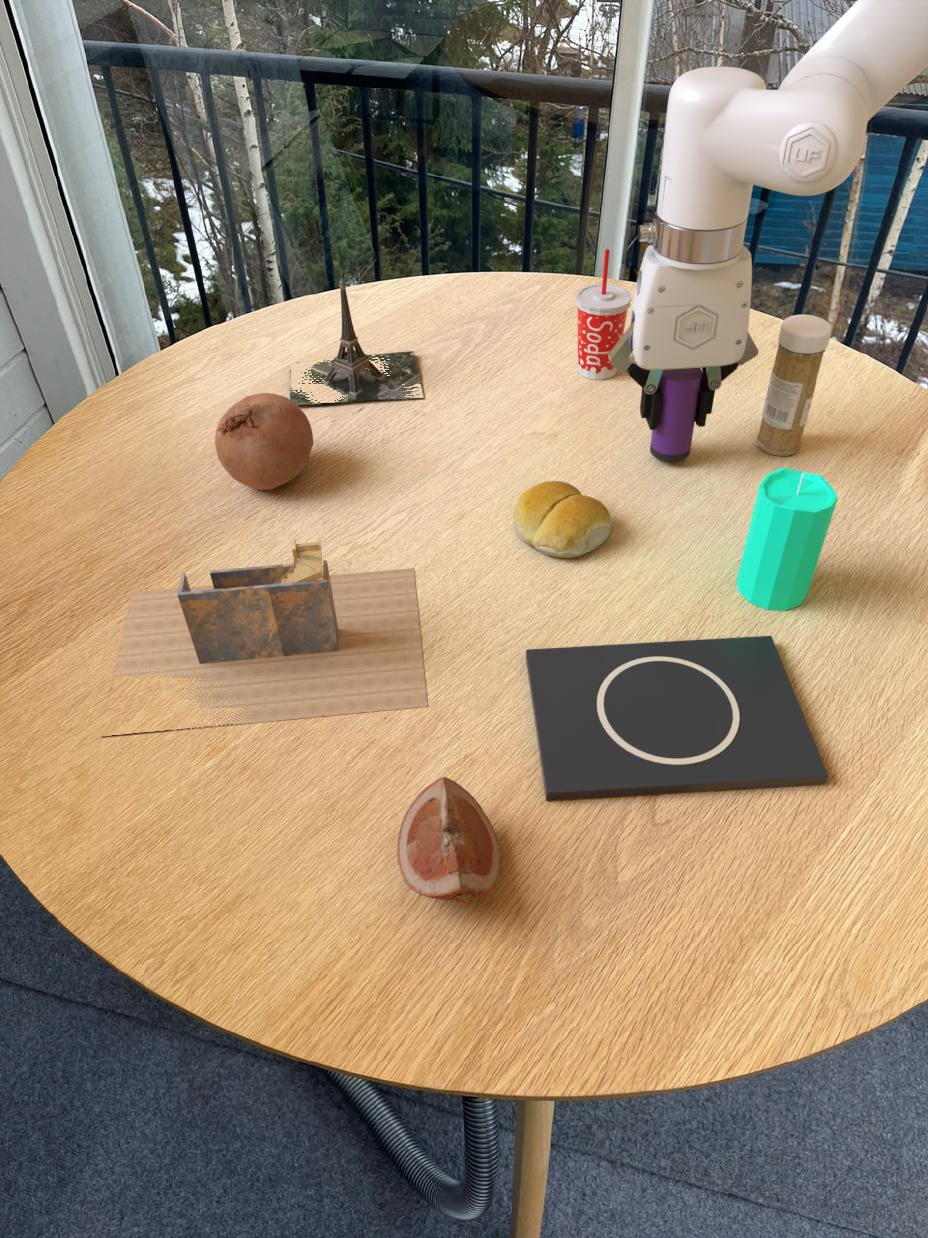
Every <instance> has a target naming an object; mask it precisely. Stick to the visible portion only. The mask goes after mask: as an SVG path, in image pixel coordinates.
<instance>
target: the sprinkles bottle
mask: <svg viewBox="0 0 928 1238" xmlns="http://www.w3.org/2000/svg"><path fill="white" fill-rule="evenodd" d="M831 334H832V326H831V324H830V323H829V322H828V321H827V320H826V319H824V318H822V317H819V316H816V315H812V314H795V315H794V314H793V315H790V316H788V317H786V318H785V319H783V320H782V322H781V325H780V329H779V333H778V337H777V341H778V342H777V344H778V346H777V347H778V348H777V351H776V355H775V359H774V362H773V367H772V370H771V373H770V378H769V383H768V387H767V390H766V395H765V400H764V404H763V408H762V414H761V415H762V416H761V421H760V426H759V430H758V433H757V435H756V438H755V442H756V443H755V444H756V445H757V447H758V448H759V449H760V450H761V451H763V452H765V453H767V454H768V455H769V454H770V455H772V456H777V457H786V456H791V455H794V454H796V453H797V452H798V451H799V450H800V449H801V446H802V438H803V434H804V430H805V426H806V424H807V421H808V419H809V418H808V417H809V413H810V410H811V406H812V403H813V398H814V393H815V389H816V385H817V380H818V376H819V372H820V369H821V365H822V362H823V356H824V353H825V352H826V349H827V348H828V346H829V343H830V340H831Z"/></svg>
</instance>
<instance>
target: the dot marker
mask: <svg viewBox="0 0 928 1238" xmlns="http://www.w3.org/2000/svg"><path fill="white" fill-rule="evenodd" d="M701 377H702V368H688V369H672V370H663V372H662V375H661V379H660V382H659V390H660V392H661V396H662V398H661V406H660V414H659V423H658V428H656V430H651V437H650V447H649V450H650V454H651V456H652V457H654V458H655V459H658V460H660V461H662V462H666V463H677V462H681V461H682V462H683V461H684V460H686V459H687V458H688V457H689V456H690V455H691V449H692V441H693V435H694V430H695V424H696V422H695V417H696V410H697V403H698V397H699V390H700V384H701Z"/></svg>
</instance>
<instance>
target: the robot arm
mask: <svg viewBox="0 0 928 1238" xmlns="http://www.w3.org/2000/svg"><path fill="white" fill-rule="evenodd" d="M927 68H928V0H856V1H855V3H853V4H852V6H851V7H849V9H848V10H846V11H845V12H844V14H843V15H842V16H841V17H840V18H838V20H837V21H836V22H835V23H834V24H833V25H832V26H831V27H830V28H829V29H828V30H827V31H826V32H825V33H824V34H823V35H822V37H820V39H818V40H817V42H815V44H813V46H812V47H811V48H810V49H809V50H808V51H807V52H806V53H805V54H804V55H803V56H802V57H801V58H800V59H799V60H798V61H797V63H796V64H795V65H794V66H793V68H791V70H790V71H789V72H788V73H787V75H786V76H785V77H784V79H783V81H782V82H781V84H780V85H779V87H778V89H768V88H767V85H766V82H765V81H764V79H763V78H762V77H761V76H760V75H759V74H757V73H756V72H753V71H751V70H749V69H745V68H741V67H734V66H705V67H698V68H695V69H691V70H688V71H686V72H684V73H683V74H681V75H680V76H679V77H677V78H676V80H674V82H673V84H672V86H671V87H670V90H669V94H668V100H667V106H666V116H665V117H666V118H665V128H664V135H663V136H664V138H663V148H662V156H661V157H662V159H661V168H660V176H659V178H660V179H659V187H658V197H657V207H656V211H654V215H653V218H652V221H651V222H648V223H647V224H640V225H638V228H637V240H638V242H639V243H642V242H643V243H644V242H646V243H647V244H650V245H648V246H647V247H646V249H645V252H644V255H643V258H642V261H641V264H640V268H639V270H638V271H639V272H638V276H637V280H636V284H635V288H634V294H633V297H632V305H631V311H630V316H629V324H628V328H627V329H626V331H624V334H623V336H622V337H621V338H620V340H619V341H618V342H617V344H616V345H615V346H614V348H613V349H612V350H611V352H610V353H609V355H608V357H609V360H610V363H611V365H612V366H613V367H615V368H617V369H618V370H619V371H620V372H622V373H625V374H626V375H629V378H631V379H632V380H633V381H634V382H635V383H636V384H638V385H639V386H640V387H641V395H640V405H639V413H640V414H639V415H640V417H641V419H645V420H646V423H647V426H648V429H649V431H652V430H656V428H658V423H659V414H660V406H661V398H662V396H661V392H660V390H659V382H660V379H661V375H662V372H663V370H672V369H688V368H700V369H701V371H702V377H701V384H700V390H699V397H698V403H697V410H696V417H695V425H696V426H697V427H699V428H703V427H705V426H706V423H707V415H711V414H712V411H713V405H714V400H715V394H716V391H717V390H718V389H720V388H721V386H722V382H723V381H725V380H726V379H727V378H728V377H730V376H731V374H733V373H734V372H735V371H736V370H738V368H739V366H743V365H744V364H746V363H747V362H749V361H751V360H752V359H754V358H756V357H757V356H758V355H759V349H758V347H757V345H756V344H755V342H754V340H753V338H752V336H751V334H750V332H749V323H750V315H751V302H752V286H753V285H752V283H753V261H752V253H751V252H750V250H749V249H748V248H747V247H746V245H744V242H745V241H744V240H745V235H746V229H747V224H748V218H749V212H750V207H751V199H752V193H753V188H754V186H756V187H761V188H762V189H763V188H764V189H768V190H771V191H775V192H779V193H781V194H785V195H791V196H799V197H812V196H818V195H821V194H825V193H827V192H829V191H830V192H831V191H832V190H833V189H835V188H836V187H838V186H840V185H841V184H843V183H844V182H845V181H846V180H847V178H849V177H850V175H852V173H853V172H854V170H855V169H856V167H857V165H858V163H859V161H860V159H861V158H862V157H861V156H862V154H863V151H864V147H865V141H866V135H867V128H868V122H869V121H870V120H871V119H872V118H873V117H874V116H875V115H876V114H877V113H878V112H879V111H880V110H881V109H883V107H884V106H886V105H887V104H888V103H889V102H890V101H892V99H893V98H894V97H895V96H896V95H898V93H900V92H901V91H902V90H903V89H904V88H905V87H906V86H908V84H910V82H912V81H913V80H914V79H915V78H916V77H917V76H919V75H920V74H921V73H922V72H923V71H924V70H925V69H927ZM631 354H633V356H632V357H631Z"/></svg>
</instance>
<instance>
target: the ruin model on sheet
mask: <svg viewBox="0 0 928 1238" xmlns="http://www.w3.org/2000/svg"><path fill="white" fill-rule="evenodd" d="M291 551H292V557H293V562H292V563H283V564H273V565H271V564H270V565H260V566H249V567H236V568H225V569H209V576H210V579H211V582H212V583H211V584H212V585H204V586H190V583H189V581H188V577H187V574H186V572H185V571H183V572H180V578H179V583H178V588H171V589H157V590H144V591H135V592H131V596H130V600H129V605H128V608H127V613H126V619H125V623H124V627H123V631H122V632H123V633H122V636H121V641H120V646H119V650H120V652H119V651H118V654H119V655H118V654H117V659H116V664H115V668H114V673H113V678H115V677H116V679H117V678H118V677H119V678H121V676H122V678H124V677H123V674H124V676H125V677H126V678H127V675H128V677H129V678H131V676H132V678H135V677H136V679H137V678H138V677H139V678H141V677H140V675H141V676H142V677H143V678H144V675H145V677H146V678H148V676H149V673H150V674H151V675H152V677H153V673H154V675H155V676H156V677H157V674H158V675H159V672H160V673H161V674H162V676H163V677H164V678H166V676H167V677H168V678H170V676H171V678H172V679H173V678H176V679H177V678H178V677H179V678H182V677H183V678H184V679H185V678H188V679H189V680H190V678H192V679H193V680H194V678H196V679H197V680H198V681H199V682H200V683H201V684H202V685H200V683H197V680H194V681H195V682H196V683H197V684H198V685H199V686H200V687H198V685H195V683H192V680H190V681H191V683H192V684H193V685H195V686H196V687H197V688H198V689H196V687H193V685H190V683H188V684H189V685H190V686H191V687H193V688H194V689H195V690H196V691H194V689H191V687H188V685H186V683H185V685H186V686H187V687H188V688H190V689H191V690H192V691H193V692H194V693H195V694H196V695H197V697H195V694H192V691H189V689H187V688H186V687H185V688H186V689H187V690H188V691H189V692H190V693H191V694H192V695H193V696H194V697H195V698H196V699H198V697H199V698H201V699H202V700H203V701H201V699H198V700H199V701H200V702H201V704H200V705H201V706H202V707H200V706H198V707H199V708H200V709H201V708H205V709H206V708H207V707H208V708H209V709H210V708H214V709H215V708H218V709H219V710H220V707H221V708H225V707H226V708H227V709H228V708H232V709H233V710H234V708H237V709H238V708H242V709H243V710H242V709H238V710H240V711H241V713H240V711H236V710H235V711H236V712H238V713H240V714H237V713H235V712H233V713H235V714H236V715H238V716H237V717H236V715H233V713H230V712H229V711H227V712H228V713H230V714H232V715H233V716H235V717H236V718H234V717H231V715H228V714H227V713H226V712H224V710H225V711H226V709H224V710H221V711H222V712H224V713H225V714H227V715H228V716H230V717H231V718H233V719H235V720H236V721H238V722H240V723H238V722H236V721H235V720H232V719H230V720H232V721H233V722H235V723H237V725H246V724H256V723H267V722H277V721H287V720H288V721H289V720H298V719H307V718H308V719H309V718H318V717H319V718H320V717H330V716H341V715H348V714H350V715H351V714H361V713H372V712H382V711H383V712H384V711H391V710H392V711H393V710H404V709H412V708H413V709H414V708H415V709H416V708H422V707H423V708H425V707H428V697H427V696H428V695H427V687H426V678H425V677H426V676H425V668H424V657H423V647H422V646H423V645H422V637H421V628H420V627H421V626H420V617H419V607H418V599H417V598H418V597H417V588H416V578H415V569H414V567H411V568H399V569H398V568H397V569H389V570H388V569H387V570H377V571H365V572H364V571H363V572H354V573H353V572H352V573H341V574H330V569H329V564H328V559H323V557H322V555H323V554H322V544H321V537H320V536H318V541H317V542H305V543H297V539H296V538H294V548H291ZM125 649H126V650H125ZM128 649H129V650H128ZM138 649H139V650H138ZM148 649H149V651H148ZM132 650H133V651H132ZM142 650H143V651H142ZM145 650H146V651H145ZM152 650H153V651H152ZM136 651H137V652H136ZM150 652H151V654H150ZM164 652H165V653H164ZM147 653H148V654H147ZM154 653H155V654H154ZM121 654H122V655H121ZM158 654H159V655H158ZM128 655H129V656H128ZM148 655H149V657H148ZM152 656H153V657H152ZM150 658H151V659H150ZM121 666H122V668H121ZM155 666H156V667H155ZM125 667H126V669H125ZM128 667H129V668H130V669H128ZM138 667H139V668H138ZM159 667H160V668H161V669H159ZM163 667H164V669H163ZM119 668H120V670H119ZM132 668H133V669H132ZM142 668H143V669H142ZM149 668H150V669H151V670H149ZM153 668H154V670H153ZM167 668H168V669H167ZM123 669H124V671H123ZM136 669H137V670H136ZM157 669H158V670H159V671H157ZM130 670H131V672H130ZM140 670H141V671H140ZM161 670H162V671H163V672H164V673H163V672H161ZM165 670H166V671H167V672H165ZM121 671H122V673H123V674H122V673H121ZM127 671H128V672H127ZM134 671H135V672H134ZM148 671H149V672H148ZM151 671H152V672H153V673H151ZM155 671H156V673H157V674H155ZM177 671H178V672H177ZM118 672H119V673H120V675H121V676H119V673H118ZM138 672H139V673H138ZM125 673H126V674H125ZM132 673H133V674H134V675H132ZM142 673H143V674H142ZM146 673H147V675H146ZM129 674H130V675H129ZM136 674H137V675H138V676H136ZM164 674H165V675H166V676H164ZM168 674H169V675H168ZM172 674H173V675H172ZM184 675H185V676H184ZM159 676H160V678H162V676H161V675H159ZM149 677H150V678H151V676H149ZM113 678H112V679H113ZM153 678H155V677H153ZM157 678H158V677H157ZM199 678H200V679H201V680H199ZM204 679H205V680H204ZM208 679H209V680H208ZM170 681H171V680H170ZM174 681H175V680H174ZM178 681H179V680H178ZM182 681H183V680H182ZM186 681H187V682H188V680H186ZM202 681H203V682H204V683H202ZM207 682H208V683H207ZM211 682H212V683H211ZM216 682H217V683H216ZM226 683H227V684H226ZM205 684H206V685H205ZM209 684H210V685H209ZM236 684H237V685H236ZM214 685H216V686H214ZM219 685H220V686H219ZM175 686H176V685H175ZM183 686H184V685H183ZM203 686H204V687H203ZM207 686H208V687H207ZM212 687H213V688H212ZM217 687H218V688H217ZM173 688H174V687H173ZM181 688H182V687H181ZM201 688H202V689H201ZM178 689H179V688H178ZM215 689H216V690H215ZM171 690H172V689H171ZM175 690H176V689H175ZM179 690H180V689H179ZM183 690H184V689H183ZM199 690H200V691H199ZM207 690H208V691H209V692H208V691H207ZM212 690H213V691H214V692H213V691H212ZM225 690H226V691H225ZM176 691H177V690H176ZM184 691H185V690H184ZM204 691H205V692H204ZM231 691H232V692H231ZM173 692H174V691H173ZM177 692H178V691H177ZM181 692H182V693H183V691H181ZM185 692H186V693H187V691H185ZM197 692H198V693H199V694H197ZM210 692H211V693H212V694H211V693H210ZM174 693H175V692H174ZM190 693H187V694H188V695H189V696H190ZM202 693H203V694H202ZM171 694H172V695H173V693H171ZM175 694H176V695H177V693H175ZM179 694H180V695H181V693H179ZM183 694H184V695H185V693H183ZM208 694H209V695H210V696H209V695H208ZM221 694H222V695H221ZM200 695H201V696H200ZM205 695H206V696H205ZM185 696H186V695H185ZM193 696H190V697H191V698H192V699H193ZM202 696H203V697H204V698H205V699H203V697H202ZM174 697H175V696H174ZM178 697H179V696H178ZM182 697H183V696H182ZM186 697H187V698H188V696H186ZM207 697H208V698H209V699H207ZM183 698H184V697H183ZM191 698H188V699H189V700H191ZM212 698H214V699H212ZM217 698H218V699H217ZM180 699H181V700H182V698H180ZM184 699H185V700H186V698H184ZM196 699H194V700H195V701H196ZM206 700H207V701H206ZM210 700H212V701H210ZM215 700H216V701H215ZM220 700H221V701H222V702H220ZM199 701H196V702H197V703H198V704H199ZM208 701H209V702H210V703H208ZM226 701H227V702H228V703H226ZM188 702H189V701H188ZM192 702H193V701H192ZM204 702H206V703H204ZM213 702H214V703H213ZM218 702H219V703H220V704H218ZM232 702H233V703H232ZM236 702H237V703H236ZM193 703H194V702H193ZM202 703H203V704H204V705H202ZM224 703H225V704H226V705H225V704H224ZM186 704H187V703H186ZM190 704H191V703H190ZM207 704H208V705H207ZM211 704H213V705H211ZM216 704H217V705H216ZM229 704H231V705H229ZM191 705H192V704H191ZM195 705H197V704H195ZM222 705H223V706H222ZM188 706H190V705H188ZM205 706H206V707H205ZM209 706H211V707H209ZM214 706H215V707H214ZM219 706H220V707H219ZM227 706H229V707H227ZM233 706H234V707H233ZM237 706H238V707H237ZM194 707H195V706H194ZM187 708H188V707H187ZM191 708H192V707H191ZM256 708H257V709H256ZM210 710H212V711H213V709H210ZM203 711H204V710H203ZM207 711H208V709H207ZM207 711H204V712H206V713H207ZM216 711H218V710H216ZM216 711H213V712H215V713H216ZM230 711H232V710H230ZM245 711H246V712H245ZM201 712H202V711H201ZM209 712H210V713H211V711H209ZM219 713H221V712H219ZM219 713H216V714H218V715H219ZM243 713H245V714H243ZM249 713H250V714H249ZM194 714H195V713H194ZM199 714H200V713H199ZM203 714H204V715H206V716H207V714H209V713H207V714H205V713H203ZM212 714H213V715H214V713H212ZM221 714H222V713H221ZM225 714H222V715H224V716H225ZM187 715H188V714H187ZM241 715H243V716H241ZM247 715H248V716H247ZM197 716H198V715H197ZM201 716H203V715H202V714H201ZM210 716H212V715H210ZM215 716H216V717H217V715H215ZM219 716H220V715H219ZM239 716H240V717H241V718H239ZM244 716H245V717H246V718H245V717H244ZM190 717H191V716H190ZM221 717H222V718H223V716H221ZM225 717H226V716H225ZM200 718H201V717H200ZM204 718H206V717H204ZM209 718H210V717H209ZM213 718H214V719H215V717H213ZM217 718H218V717H217ZM227 718H228V719H229V717H227ZM237 718H238V719H240V720H241V721H243V722H241V721H240V720H237ZM242 718H243V719H245V720H243V719H242ZM219 719H221V718H219ZM224 719H225V720H227V719H226V718H224ZM198 720H199V719H198ZM203 720H204V719H203ZM207 720H208V719H207ZM211 720H213V719H211ZM216 720H217V719H216ZM230 720H227V721H228V722H230ZM213 721H214V720H213ZM217 721H219V720H217ZM222 721H224V720H222ZM201 722H202V721H201ZM206 722H207V721H206ZM210 722H211V721H210ZM214 722H216V721H214ZM224 722H225V721H224ZM228 722H225V723H227V724H229V725H228V726H235V725H236V724H235V723H233V722H230V723H228ZM244 722H245V723H244ZM194 723H195V722H194ZM211 723H212V722H211ZM216 723H217V722H216ZM221 723H222V722H221ZM225 723H222V724H224V725H225V726H227V725H226V724H225ZM231 723H232V724H233V725H231ZM187 724H188V723H187ZM191 724H192V723H191ZM204 724H205V723H204ZM213 724H215V723H213ZM218 724H219V725H220V723H218ZM197 725H198V724H197ZM201 725H203V724H201ZM201 725H198V726H200V727H201ZM206 725H207V724H206ZM206 725H203V726H204V727H205V728H207V727H206ZM210 725H212V724H210ZM215 725H216V724H215ZM190 726H191V725H190ZM194 726H196V725H194ZM207 726H208V725H207ZM212 726H213V725H212ZM225 726H223V725H221V726H220V727H225ZM175 727H176V726H175ZM183 727H184V726H183ZM187 727H189V726H187ZM191 727H193V726H191ZM204 727H201V728H199V727H197V728H194V727H193V728H194V729H195V730H196V729H203V728H204ZM216 727H219V726H218V725H216V726H213V727H212V728H216ZM176 728H177V727H176ZM208 728H211V727H210V726H209V727H208ZM171 730H172V729H171ZM184 730H188V729H187V728H186V729H183V730H182V731H184ZM189 730H193V729H192V728H190V729H189ZM174 731H177V730H176V729H175V730H174ZM178 731H181V730H180V729H179V730H178Z"/></svg>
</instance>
